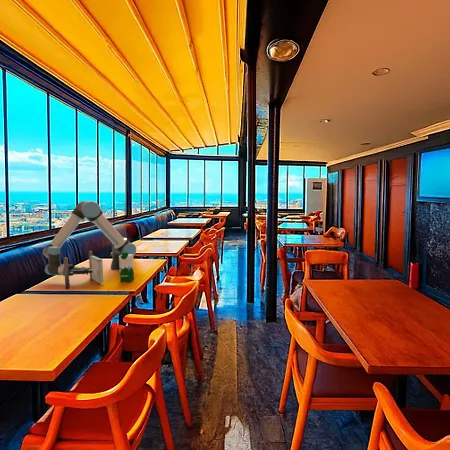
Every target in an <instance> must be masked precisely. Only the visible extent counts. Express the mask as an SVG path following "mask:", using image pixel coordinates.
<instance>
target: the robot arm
mask: <svg viewBox="0 0 450 450" xmlns="http://www.w3.org/2000/svg"><path fill="white" fill-rule="evenodd" d="M85 219H86V220H88V221H89V222H90V223H92V224H94V225H95V226H96V227H97V229H99V230H100V231H101V233H102V234H103V235H105V237H106V238H107V240H109V242H111V251H112V255H111V256H112V260H111V263H110V269H111V270H115V271H117V270H118V271H120V267H119V256H120V255H122V253H123V252H128V254H134V255H133V257H134V256H135V255H136V253H137V246H136V245H135V244H134V243H132V242H130V240H129V239H128V238H127V237H123V236H122V235H121V234H120V232H119V231H118V230H117V228H115V227H114V225H113V224H112V223H111V222H110V221H109V220H108V219H107V218H106V217H105V216H104V211H103V210H102V209H101V206H100V204H98V202H96V201H94V200H83V201H80V202H78V204H77V205H76V206H75V208H73V210H72V212H71V213H70V217H69V218H68V219H67V220H66V222H65V223H64V224H63V226H62V227H61V228H60V230H59V231H58V233H56V235H55V236H54V238H53V239H52V240H51V241H50V242H49V244H48V245H47V246H46V247H45V248H43V250H42V254H43V256H44V258H47V259H48V264H46V265H45V268H44V272H45V273H46V274H47V275H50V276H62V277H65V272H64V263H63V264H62V262H61V261H62V259H61V248H62V247H63V245H64V244H65V242H66V241H67V240H68V239H69V238H70V236H71V234H72V233H73V232H74V230H75V229H76V228H77V227H78V225H79V224H80V222H83V221H84V220H85ZM68 268H69V277H72V276H74V275H87V276H88V275H90V274H98V269H91V268H90V267H85V266H81V267H79V266H75V265H74V264H68Z"/></svg>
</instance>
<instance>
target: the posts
mask: <svg viewBox="0 0 450 450" xmlns="http://www.w3.org/2000/svg"><path fill="white" fill-rule="evenodd" d="M90 256H94V255H93V250H88V264H89V268H91V265H90ZM63 264H64V272H65V276H64V283H65V284H64V287H65V290H69V289H70V276H69V268H68V265H69V257H63ZM89 280H92V279H91V274H90V273H89Z"/></svg>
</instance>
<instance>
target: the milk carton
mask: <svg viewBox="0 0 450 450" xmlns="http://www.w3.org/2000/svg"><path fill="white" fill-rule="evenodd" d="M133 255H134V254H128V252H123V253H122V255H120V256H119V267H120V270H119V280H120V281H119V282H120V283H131V282H132V281H134V280H135V271H134V270H135V267H134V256H135V255H134V256H133Z"/></svg>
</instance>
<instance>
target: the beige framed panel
mask: <svg viewBox="0 0 450 450" xmlns="http://www.w3.org/2000/svg"><path fill="white" fill-rule="evenodd" d="M90 265H91V269H98V274H91V279H90V280H94V281H95V282H97V283H99V285H100V284H104V270H103V269H104V266H103V258H100V257H99V256H98V257H97V256H95V255H93V256H90Z"/></svg>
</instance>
